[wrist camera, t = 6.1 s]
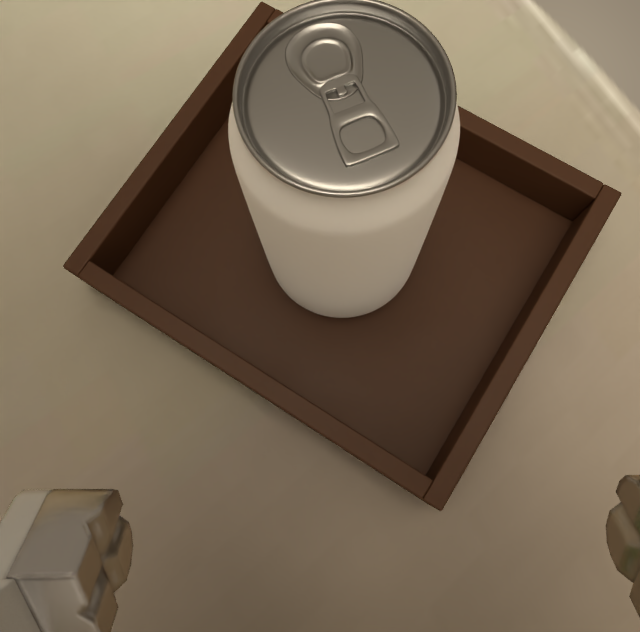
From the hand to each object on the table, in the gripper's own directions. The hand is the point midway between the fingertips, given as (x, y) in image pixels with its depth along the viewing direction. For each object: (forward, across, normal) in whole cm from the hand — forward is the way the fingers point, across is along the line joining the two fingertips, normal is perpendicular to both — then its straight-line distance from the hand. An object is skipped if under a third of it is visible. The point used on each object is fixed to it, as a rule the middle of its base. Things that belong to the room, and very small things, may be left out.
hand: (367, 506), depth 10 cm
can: (+18, 0, +4) cm, 18 cm away
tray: (+18, 0, +4) cm, 18 cm away
